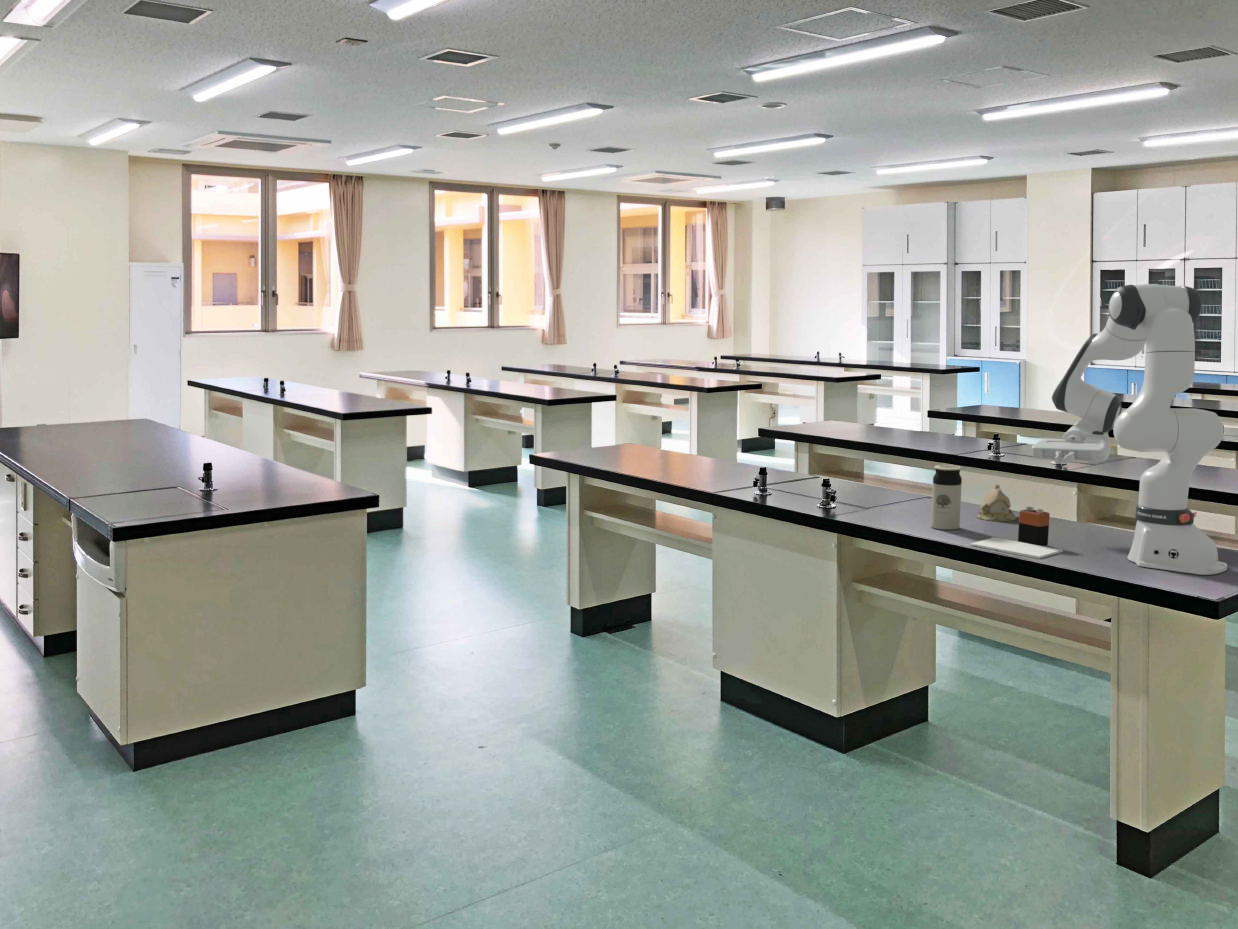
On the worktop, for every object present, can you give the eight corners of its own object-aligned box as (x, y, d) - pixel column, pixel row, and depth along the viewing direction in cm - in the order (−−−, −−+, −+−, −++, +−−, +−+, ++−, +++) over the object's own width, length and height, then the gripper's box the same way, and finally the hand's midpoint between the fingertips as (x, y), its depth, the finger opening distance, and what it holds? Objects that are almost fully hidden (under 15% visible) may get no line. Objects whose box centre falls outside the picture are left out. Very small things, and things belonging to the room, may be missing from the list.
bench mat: (1062, 552, 289) (1062, 549, 289) (1039, 558, 282) (1039, 556, 282) (994, 539, 305) (994, 537, 304) (970, 545, 297) (970, 543, 297)
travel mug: (939, 523, 326) (942, 463, 323) (964, 527, 320) (967, 466, 318) (925, 527, 320) (928, 466, 318) (950, 531, 315) (953, 469, 312)
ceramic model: (1017, 522, 329) (1019, 489, 327) (978, 520, 331) (980, 488, 330) (1012, 513, 342) (1013, 482, 341) (974, 512, 345) (976, 480, 343)
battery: (1027, 541, 303) (1029, 505, 301) (1048, 545, 297) (1050, 509, 296) (1016, 543, 300) (1019, 507, 299) (1038, 547, 295) (1040, 511, 293)
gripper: (1040, 431, 318) (1021, 448, 308) (1114, 433, 304) (1096, 452, 295) (1043, 451, 320) (1024, 469, 310) (1116, 454, 306) (1098, 473, 296)
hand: (1060, 461), depth 302 cm, fingers closed
